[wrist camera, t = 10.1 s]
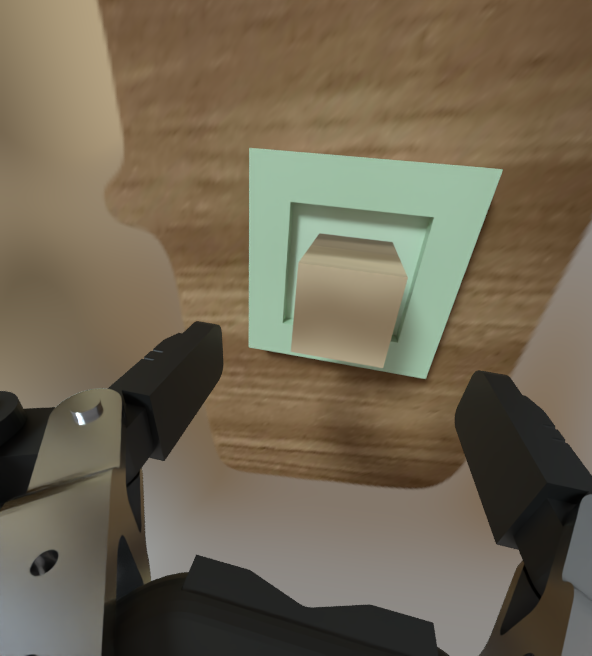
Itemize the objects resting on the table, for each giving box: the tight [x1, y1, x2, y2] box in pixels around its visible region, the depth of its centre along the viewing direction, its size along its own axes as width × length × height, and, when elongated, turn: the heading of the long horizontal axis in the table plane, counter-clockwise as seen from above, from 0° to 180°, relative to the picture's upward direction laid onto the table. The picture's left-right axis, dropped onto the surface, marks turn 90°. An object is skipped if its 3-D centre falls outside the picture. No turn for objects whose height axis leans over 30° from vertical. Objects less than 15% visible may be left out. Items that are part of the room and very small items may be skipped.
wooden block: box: [291, 233, 408, 368], centre depth 16 cm, size 4×4×7 cm
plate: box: [249, 148, 503, 379], centre depth 19 cm, size 13×13×2 cm
